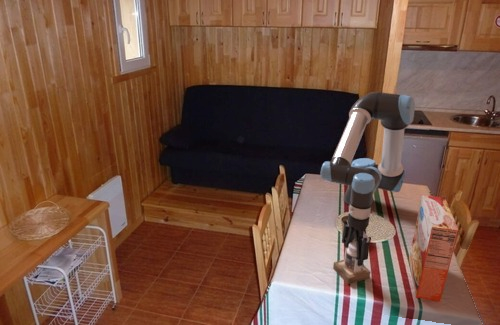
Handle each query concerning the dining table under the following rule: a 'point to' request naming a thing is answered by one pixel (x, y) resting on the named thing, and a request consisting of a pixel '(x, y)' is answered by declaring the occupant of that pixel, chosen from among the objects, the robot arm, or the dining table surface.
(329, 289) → the dining table surface
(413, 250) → the pasta box
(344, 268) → the base block
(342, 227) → the flower pot
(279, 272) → the dining table surface
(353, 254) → the pill bottle
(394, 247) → the dining table surface
